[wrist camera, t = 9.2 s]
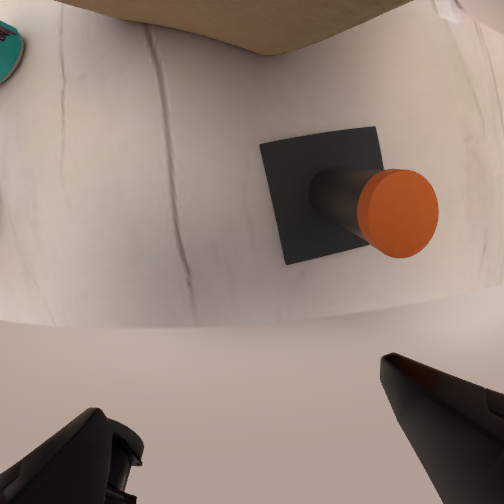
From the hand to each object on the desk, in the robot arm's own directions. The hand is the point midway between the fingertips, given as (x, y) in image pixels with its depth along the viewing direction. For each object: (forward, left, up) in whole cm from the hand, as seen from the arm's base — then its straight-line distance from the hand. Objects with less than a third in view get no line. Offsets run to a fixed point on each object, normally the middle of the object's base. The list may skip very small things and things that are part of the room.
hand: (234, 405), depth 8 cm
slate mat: (+3, -7, -13) cm, 15 cm away
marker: (+4, -7, -12) cm, 15 cm away
